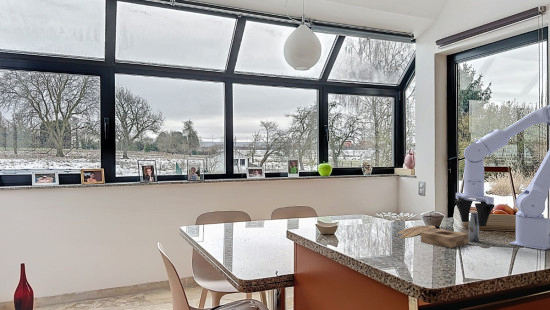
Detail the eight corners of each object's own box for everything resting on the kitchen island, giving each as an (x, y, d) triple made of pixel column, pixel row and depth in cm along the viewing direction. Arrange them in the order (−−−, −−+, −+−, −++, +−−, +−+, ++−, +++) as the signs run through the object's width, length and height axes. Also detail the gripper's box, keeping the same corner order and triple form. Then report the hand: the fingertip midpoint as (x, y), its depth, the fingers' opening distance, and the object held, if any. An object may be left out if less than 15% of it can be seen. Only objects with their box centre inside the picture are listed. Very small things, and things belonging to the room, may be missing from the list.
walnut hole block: (468, 243, 124) (468, 233, 124) (450, 247, 118) (450, 237, 118) (438, 238, 132) (439, 228, 132) (420, 241, 126) (420, 232, 126)
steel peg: (480, 241, 127) (480, 213, 127) (475, 242, 126) (476, 213, 126) (471, 239, 130) (471, 211, 130) (466, 240, 128) (466, 212, 128)
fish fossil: (416, 241, 129) (415, 237, 129) (386, 239, 135) (385, 236, 135) (439, 228, 149) (439, 225, 149) (412, 227, 155) (412, 224, 155)
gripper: (448, 179, 134) (447, 220, 134) (480, 183, 120) (479, 228, 120) (466, 179, 136) (465, 219, 136) (499, 182, 121) (499, 227, 122)
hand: (473, 223), depth 128 cm, fingers open, 7 cm apart
